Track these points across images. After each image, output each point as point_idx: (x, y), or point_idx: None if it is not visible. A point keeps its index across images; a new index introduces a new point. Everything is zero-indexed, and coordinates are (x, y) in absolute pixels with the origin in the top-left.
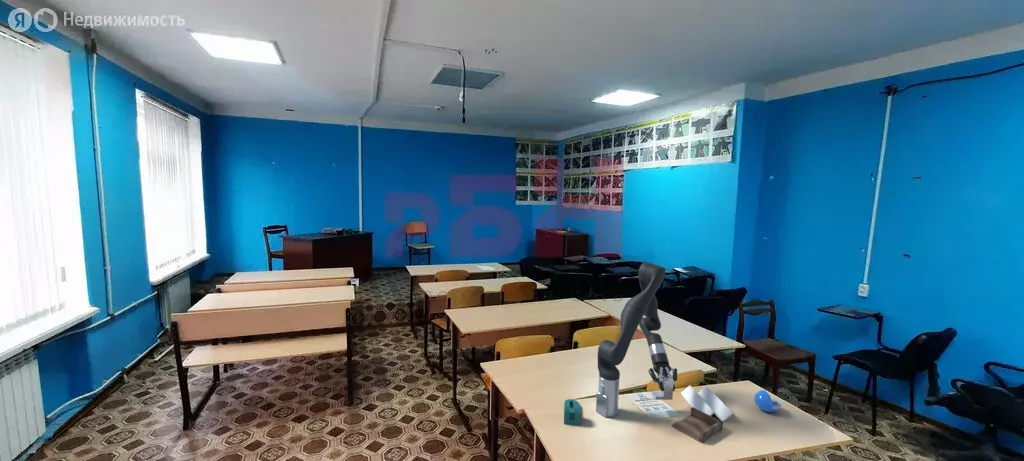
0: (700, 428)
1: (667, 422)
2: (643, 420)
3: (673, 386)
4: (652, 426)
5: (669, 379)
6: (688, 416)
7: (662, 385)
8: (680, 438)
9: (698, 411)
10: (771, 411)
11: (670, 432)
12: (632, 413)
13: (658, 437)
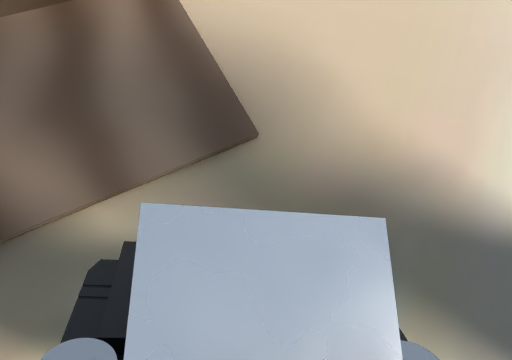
0: (59, 67)
1: (260, 182)
2: (422, 225)
3: (126, 272)
4: (382, 154)
5: (219, 296)
6: (33, 221)
7: None
8: (259, 28)
9: None
10: None
11: (292, 83)
12: (481, 325)
13: (381, 59)
